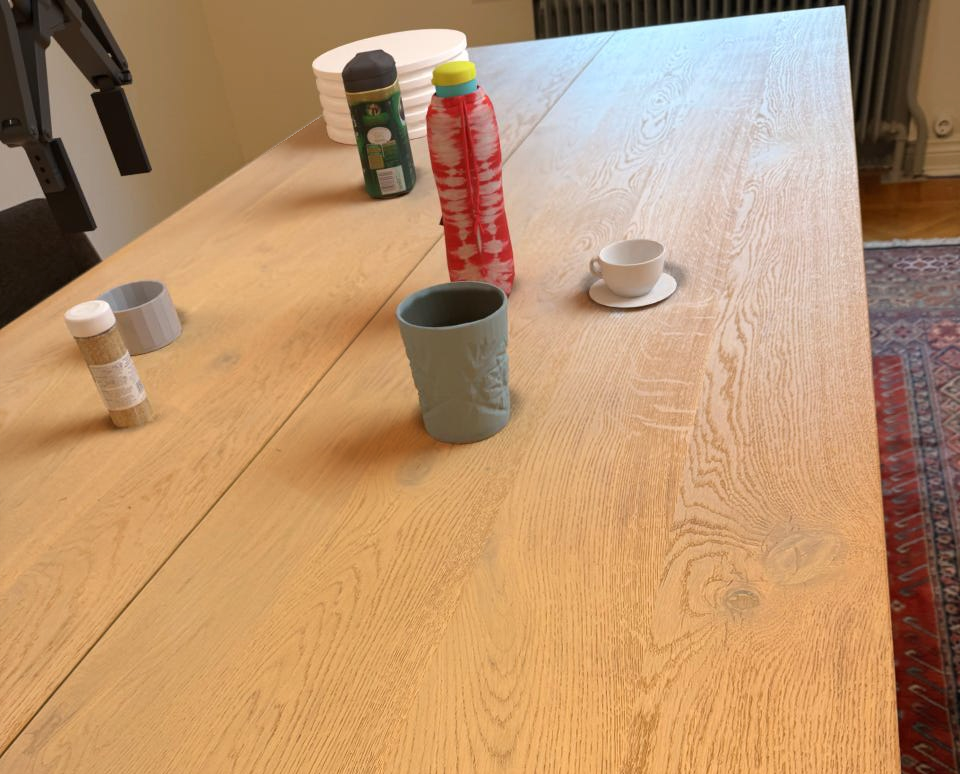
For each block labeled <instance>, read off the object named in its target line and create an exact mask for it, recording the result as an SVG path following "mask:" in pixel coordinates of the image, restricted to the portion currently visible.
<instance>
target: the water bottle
mask: <svg viewBox="0 0 960 774" xmlns="http://www.w3.org/2000/svg"><path fill="white" fill-rule="evenodd" d="M432 74H433V78H432V79H431V83H432V84H433V85H435V90H436V92H435V93H434V94H433V95H432V98H431V104H430V105H429V107H428V110H427V114H426V125H427V136H426V140H427V147H428V152H429V153H428V154H429V159H430V166H431V171H432V174H433V178H434V182H435V186H436V190H437V194H438V198H439V205H440V211H441V217H440V220H439V223H438V225H439V226H442V227H443V233H444V246H445V255H446V265H447V270H448V276H449V282H460V281H476V282H485V283H489V284H492V285H495V286H497V287H499V288H500V289H502V290H503V291H504V292H505V294H506V296H507V300H508V299H509V297H510V294H511V293H512V290H513V286H514V281H515V276H516V270H515V259H514V251H513V246H512V245H513V244H512V240H511V234H510V229H509V223H508V217H507V214H506V213H507V212H506V206H505V198H504V190H503V189H504V188H503V164H502V163H503V162H502V159H503V158H502V157H503V156H502V148H501V141H500V133H499V125H498V120H497V116H496V112H495V108H494V105H493V102H492V100H491V98H490V97H489V95H488V94H486V93H485V91H484V89H483V86H480V85H479V84H478V83H477V70H476V64H475V63H473V62H472V61H470V60H469V61H452V62H448V63H444V64H442V65H440V66H438V67H436V68H435V69H434V70H433V72H432Z"/></svg>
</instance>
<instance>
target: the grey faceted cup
mask: <svg viewBox="0 0 960 774" xmlns="http://www.w3.org/2000/svg"><path fill="white" fill-rule="evenodd" d="M94 300H101V301H105V302H107V303H108V304H109V306H110V308H111V310H112V312H113V314H114V317H115V319H116V321H115V322H116V323H117V328H118V331H119V333H120V336H121V338H122V340H123V342H124V345H125V347H126V348H127V350H128V352H129V355H130V356H137V355H144V354H148V353H151V352H154V351H157V350H160V349H162V348H165V347H167V346H168V345H170V344H172V343H173V342H174V341H176V340H177V339H178V338H179V337H180V336H181V334H182V333H183V326H182V323H181V321H180V317H179V316H178V315H179V314H178V313H177V310H176V307H175V304H174V302H173V299H172V297H171V293H170V291H169V289H168V286H167V284H166V282H164V281H162V280H160V279H159V280H158V279H139V280H135V281H134V280H133V281H129V282H125V283H121V284H119V285H116V286H114V287H111V288H109V289H107V290H105V291H104V292H102V293H100V294H99V295H98V296H96V297H95V298H94V299H93V300H92V301H94Z"/></svg>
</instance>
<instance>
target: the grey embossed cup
mask: <svg viewBox="0 0 960 774" xmlns="http://www.w3.org/2000/svg"><path fill="white" fill-rule="evenodd" d="M508 313H509V312H508V299H507V296H506V294H505V292H504V291H503V290H502V289H500V288H499V287H497V286H495V285H492V284H489V283H485V282H476V281H460V282H450V281H449V282H444V283H438V284H434V285H431V286H427V287H425V288H422V289H419V290H417V291H415V292H413V293H411V294H410V295H408V296H407V297H405V298H404V299H402V300H401V301H400V303H399V304H398V305H397V307H396V310H395V318H396V321H397V322H396V323H397V325H398V328H399V329H398V330H399V332H400V336H401V339H402V342H403V346H404V348H405V354H406V358H407V359H408V360H409V368H410V370H411V378H412V379H413V385H414V387H415V389H416V390H417V396H418V403H419V407H420V411H421V413H422V420H423V424H424V427H425V430H426V431H427V433H428V435H429V436H430V437H431V438H432V439H435V440H436V441H440V442H442V443H447V444H455V445H457V444H458V445H460V444H471V443H475V442H479V441H482V440H486V439H488V438H491V437H493V436H494V435H496V434H498V433H499V432H501V431H502V430H503V429H504V428H506V426H507V425H508V423H509V421H510V419H511V418H510V417H511V395H510V386H509V379H510V371H509V370H510V367H509V355H508V354H507V349H508V345H509V325H508V323H509V321H508V319H509V317H508V315H509V314H508Z"/></svg>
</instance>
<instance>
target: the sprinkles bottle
mask: <svg viewBox="0 0 960 774" xmlns="http://www.w3.org/2000/svg"><path fill="white" fill-rule="evenodd" d="M93 300H94V299H93ZM93 300H89V301H88V300H87V301H84V302H81V303H78V304H77V305H74V306H72V307H70V308H69V309H67V311H66V312H64V315H63V320H64V323H65V325H66V327H67V329H68V331H69V334H70V335H71V336H72V337H73V339H74V340H75V342H76V344H77V346H78V349H79V351H80V353H81V355H82V358H83V360H84V362H85V363H86V366H87V369H88V370H89V374H90V375H91V378H92V379H93V383H94V385H95V388H96V389H97V392H98V393H99V396H100V398H101V400H102V402H103V405H104V407H105V408H106V409H107V411H108V413H109V416H110V418H111V420H112V423H113V425H114V426H116V427H119V428H132V427H135V426H138V425H140V424H143V423H144V422H146V421H147V420H149V419H150V418H151V417H152V415H153V413H154V412H153V408H152V405H151V404H150V401H149V399H148V395H147V392H146V390H145V387H144V385H143V383H142V381H141V378H140V376H139V373H138V370H137V369H136V366H135V364H134V362H133V360H132V356H131V355H129V352H128V350H127V348H126V347H125V345H124V342H123V340H122V338H121V336H120V333H119V331H118V328H117V323H116V322H115V321H116V319H115V317H114V314H113V312H112V310H111V308H110V306H109V304H108V303H107V302H105V301H101V300H94V301H93Z"/></svg>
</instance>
